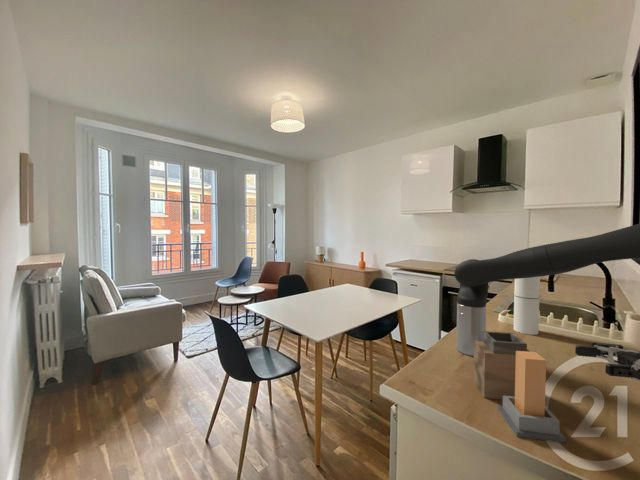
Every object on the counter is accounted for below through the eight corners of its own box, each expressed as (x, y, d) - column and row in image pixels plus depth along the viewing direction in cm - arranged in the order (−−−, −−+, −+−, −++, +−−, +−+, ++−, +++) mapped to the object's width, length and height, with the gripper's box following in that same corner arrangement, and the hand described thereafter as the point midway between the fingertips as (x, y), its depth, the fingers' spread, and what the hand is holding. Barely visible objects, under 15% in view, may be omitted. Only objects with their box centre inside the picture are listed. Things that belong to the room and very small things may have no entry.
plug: (514, 413, 64) (515, 350, 64) (533, 415, 64) (535, 352, 63) (523, 425, 60) (525, 358, 60) (544, 427, 60) (546, 360, 59)
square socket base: (473, 380, 80) (474, 330, 79) (519, 385, 77) (520, 333, 77) (484, 397, 72) (485, 341, 71) (535, 402, 70) (537, 345, 69)
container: (527, 327, 122) (529, 260, 121) (543, 334, 114) (545, 263, 113) (508, 327, 122) (510, 260, 121) (523, 335, 114) (525, 263, 112)
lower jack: (497, 409, 67) (498, 393, 67) (539, 413, 66) (539, 397, 65) (516, 436, 58) (517, 418, 58) (565, 442, 57) (565, 423, 57)
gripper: (650, 335, 63) (568, 330, 66) (729, 367, 49) (620, 358, 52) (647, 367, 63) (566, 360, 66) (725, 407, 49) (618, 396, 52)
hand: (590, 359), depth 59 cm, fingers open, 8 cm apart
